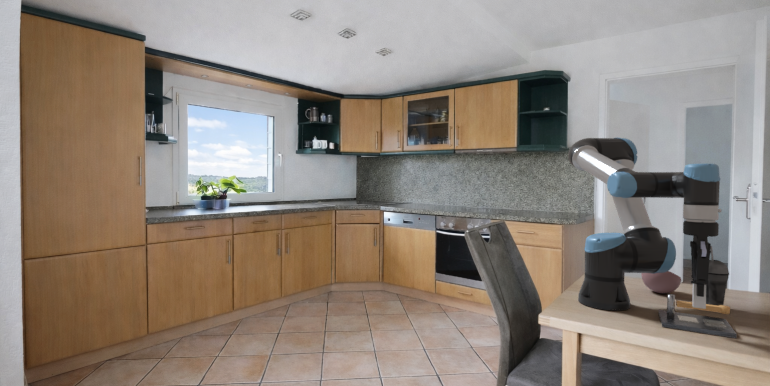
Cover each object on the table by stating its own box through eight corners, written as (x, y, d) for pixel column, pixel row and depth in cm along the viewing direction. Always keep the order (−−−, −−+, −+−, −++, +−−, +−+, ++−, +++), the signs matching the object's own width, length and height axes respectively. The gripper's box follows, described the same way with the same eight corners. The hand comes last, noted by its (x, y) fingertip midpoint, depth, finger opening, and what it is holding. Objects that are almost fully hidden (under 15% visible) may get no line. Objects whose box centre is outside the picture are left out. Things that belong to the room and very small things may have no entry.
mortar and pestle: (689, 296, 142) (690, 264, 142) (662, 298, 139) (662, 265, 139) (659, 287, 154) (659, 257, 153) (633, 289, 151) (634, 259, 150)
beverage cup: (733, 312, 125) (735, 248, 124) (707, 310, 126) (709, 247, 126) (719, 305, 132) (721, 244, 131) (694, 303, 134) (696, 244, 133)
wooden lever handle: (676, 307, 115) (677, 301, 115) (675, 305, 117) (676, 299, 117) (730, 314, 109) (731, 308, 109) (728, 312, 111) (728, 305, 111)
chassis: (662, 326, 112) (662, 299, 112) (658, 313, 124) (659, 288, 123) (736, 338, 104) (737, 308, 104) (725, 323, 115) (726, 296, 115)
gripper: (723, 223, 101) (722, 316, 101) (713, 219, 112) (711, 303, 112) (686, 221, 104) (685, 311, 105) (680, 218, 116) (678, 299, 116)
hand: (699, 307), depth 109 cm, fingers closed
